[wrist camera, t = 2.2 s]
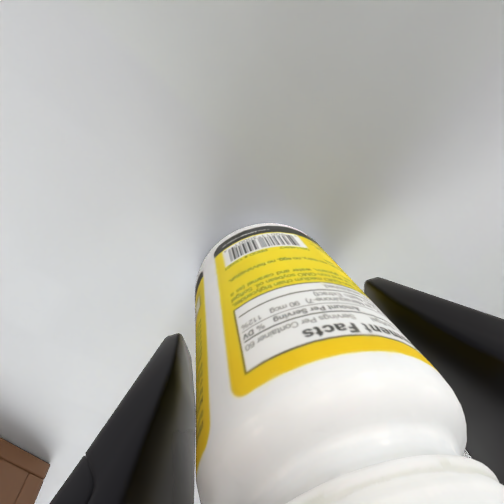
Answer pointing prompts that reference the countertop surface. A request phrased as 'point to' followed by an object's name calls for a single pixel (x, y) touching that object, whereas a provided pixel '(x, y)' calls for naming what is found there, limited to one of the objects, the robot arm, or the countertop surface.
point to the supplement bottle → (316, 388)
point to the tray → (20, 474)
